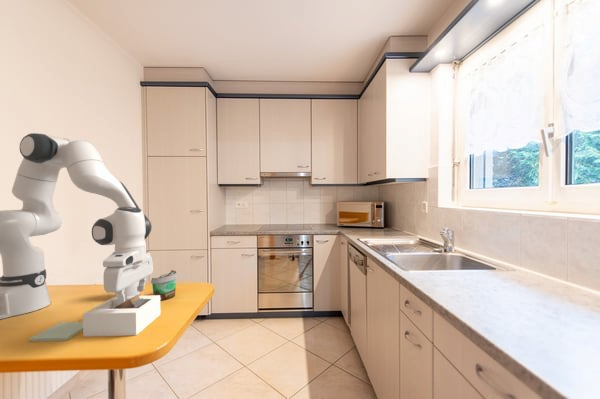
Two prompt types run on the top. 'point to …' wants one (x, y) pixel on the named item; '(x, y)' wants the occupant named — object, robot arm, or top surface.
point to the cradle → (138, 303)
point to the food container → (165, 285)
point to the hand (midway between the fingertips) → (132, 296)
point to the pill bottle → (132, 290)
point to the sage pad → (59, 332)
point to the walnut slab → (128, 303)
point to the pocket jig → (120, 317)
